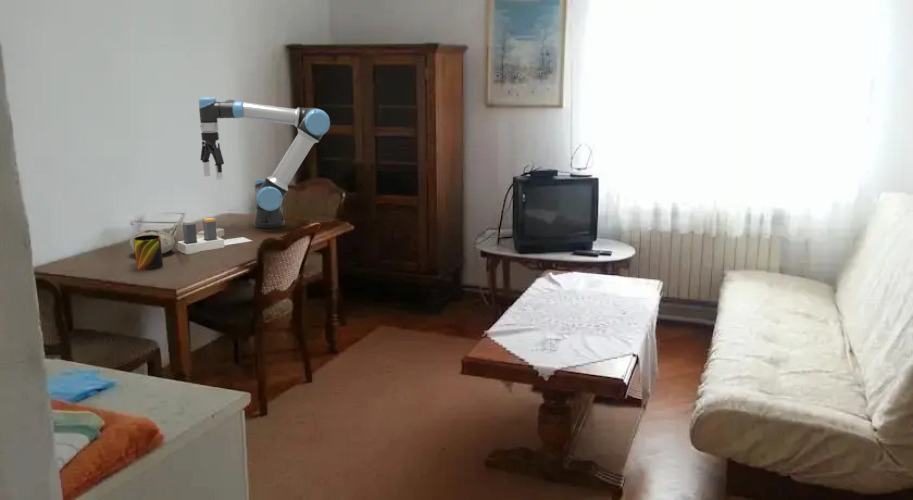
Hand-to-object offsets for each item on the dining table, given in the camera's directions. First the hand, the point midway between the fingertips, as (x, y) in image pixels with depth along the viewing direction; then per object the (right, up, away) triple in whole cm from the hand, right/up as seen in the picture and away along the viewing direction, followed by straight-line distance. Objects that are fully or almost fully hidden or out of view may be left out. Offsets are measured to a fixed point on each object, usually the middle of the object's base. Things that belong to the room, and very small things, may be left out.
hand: (213, 177), depth 362 cm
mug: (-11, -40, -51) cm, 66 cm away
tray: (+12, -30, -10) cm, 34 cm away
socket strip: (+2, -33, -24) cm, 41 cm away
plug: (+6, -31, -21) cm, 38 cm away
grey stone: (-16, -35, -31) cm, 50 cm away
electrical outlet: (-1, -29, -5) cm, 30 cm away
